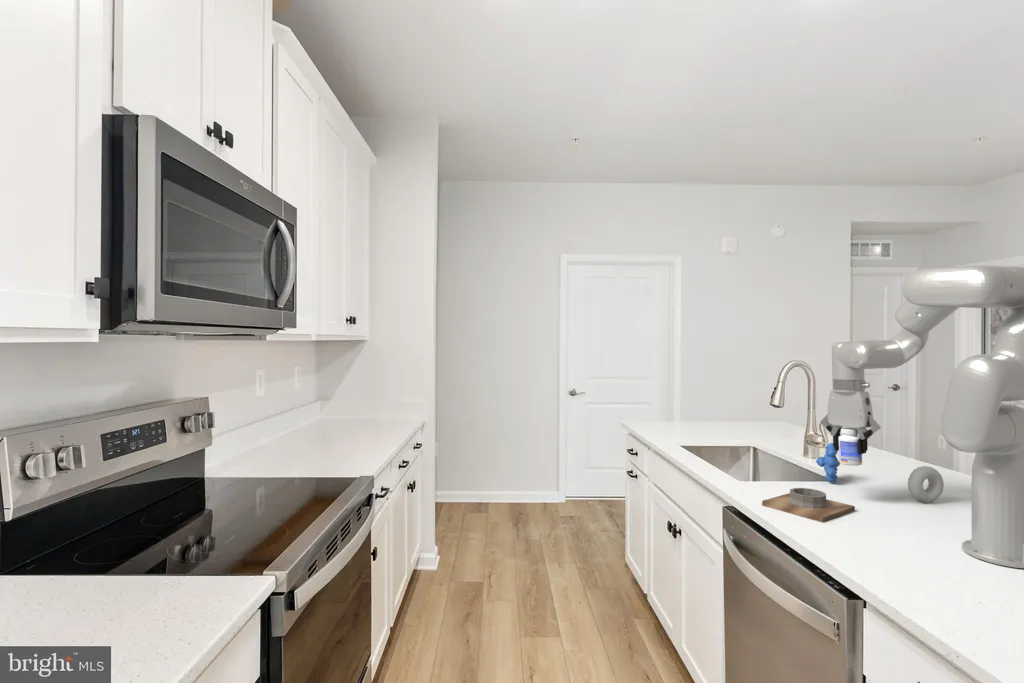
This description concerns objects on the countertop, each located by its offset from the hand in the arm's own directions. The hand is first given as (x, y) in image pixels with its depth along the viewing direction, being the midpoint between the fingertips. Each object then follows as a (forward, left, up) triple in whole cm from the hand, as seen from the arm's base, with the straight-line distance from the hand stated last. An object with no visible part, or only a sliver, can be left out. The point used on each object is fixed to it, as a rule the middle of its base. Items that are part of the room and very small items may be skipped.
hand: (850, 451), depth 147 cm
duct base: (+4, +15, -14) cm, 21 cm away
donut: (-11, -17, -14) cm, 25 cm away
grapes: (+15, -17, -14) cm, 27 cm away
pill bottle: (0, 0, -4) cm, 4 cm away
